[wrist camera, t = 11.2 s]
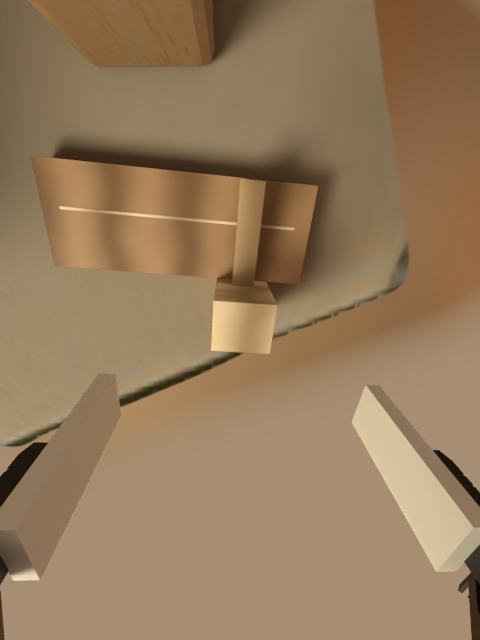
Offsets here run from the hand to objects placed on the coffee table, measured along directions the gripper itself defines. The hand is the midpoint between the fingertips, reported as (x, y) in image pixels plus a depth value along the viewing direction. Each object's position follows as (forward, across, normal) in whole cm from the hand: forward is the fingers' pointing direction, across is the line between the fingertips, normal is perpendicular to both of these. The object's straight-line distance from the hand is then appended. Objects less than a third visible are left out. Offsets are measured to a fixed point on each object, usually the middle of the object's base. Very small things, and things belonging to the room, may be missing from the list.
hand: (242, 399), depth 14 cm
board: (+17, -6, +7) cm, 19 cm away
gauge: (+17, 0, +4) cm, 18 cm away
